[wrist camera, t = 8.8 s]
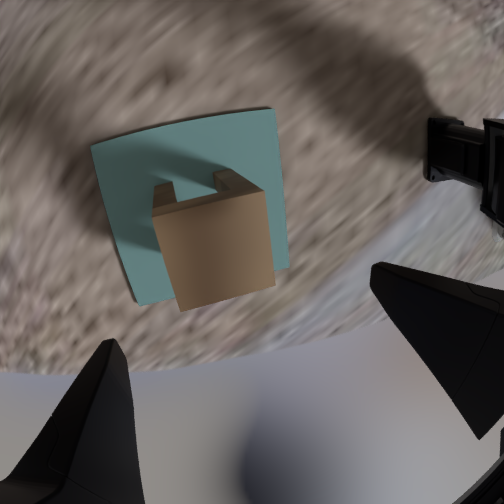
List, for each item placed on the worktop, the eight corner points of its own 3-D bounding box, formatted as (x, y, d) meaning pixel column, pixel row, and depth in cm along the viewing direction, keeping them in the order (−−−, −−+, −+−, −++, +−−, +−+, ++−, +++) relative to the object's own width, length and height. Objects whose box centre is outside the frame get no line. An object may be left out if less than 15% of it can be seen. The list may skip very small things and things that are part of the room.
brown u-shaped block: (230, 168, 18) (264, 191, 13) (241, 237, 21) (275, 285, 15) (154, 185, 17) (151, 217, 12) (172, 255, 20) (180, 311, 14)
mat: (272, 108, 18) (274, 108, 17) (287, 264, 23) (289, 266, 23) (91, 145, 15) (90, 145, 15) (139, 303, 21) (139, 306, 20)
